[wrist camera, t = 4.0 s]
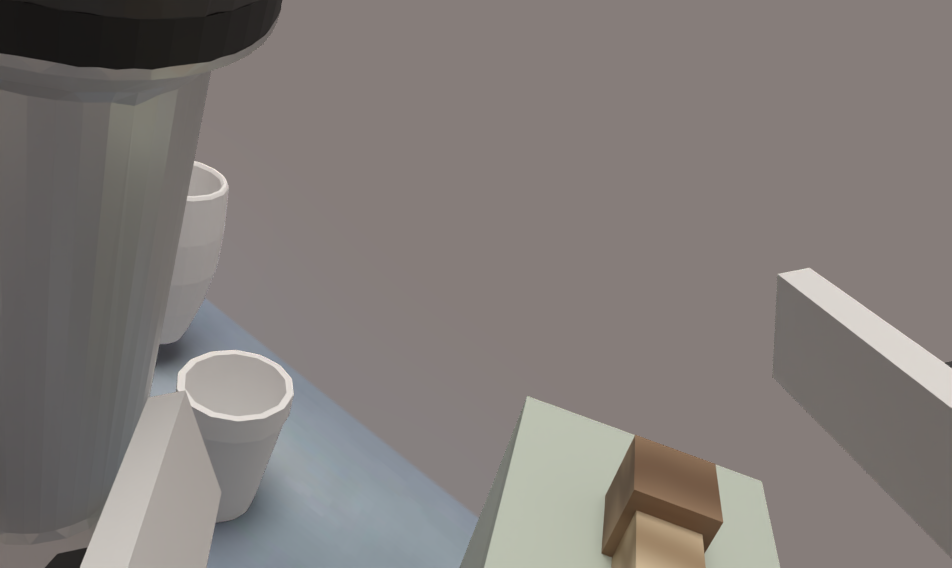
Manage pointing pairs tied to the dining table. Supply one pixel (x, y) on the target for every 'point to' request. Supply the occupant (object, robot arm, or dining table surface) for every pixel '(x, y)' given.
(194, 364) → the foam cup
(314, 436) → the dining table surface
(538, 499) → the stand
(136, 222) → the robot arm
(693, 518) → the beech bar
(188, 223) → the cup
